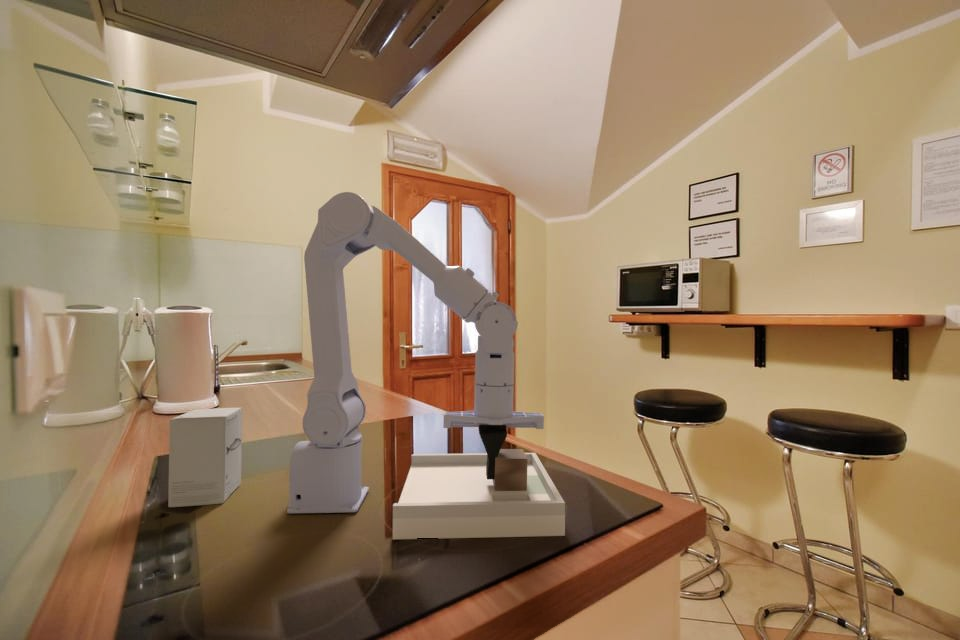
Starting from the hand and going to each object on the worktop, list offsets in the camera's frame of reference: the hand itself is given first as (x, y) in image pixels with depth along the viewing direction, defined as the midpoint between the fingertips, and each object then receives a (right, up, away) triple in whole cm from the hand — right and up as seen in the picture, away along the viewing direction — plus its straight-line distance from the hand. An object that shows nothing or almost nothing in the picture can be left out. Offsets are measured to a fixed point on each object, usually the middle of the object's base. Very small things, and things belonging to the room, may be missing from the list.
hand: (492, 477), depth 60 cm
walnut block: (+2, -1, 0) cm, 3 cm away
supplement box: (-43, -4, +2) cm, 43 cm away
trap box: (-2, -4, 0) cm, 4 cm away
